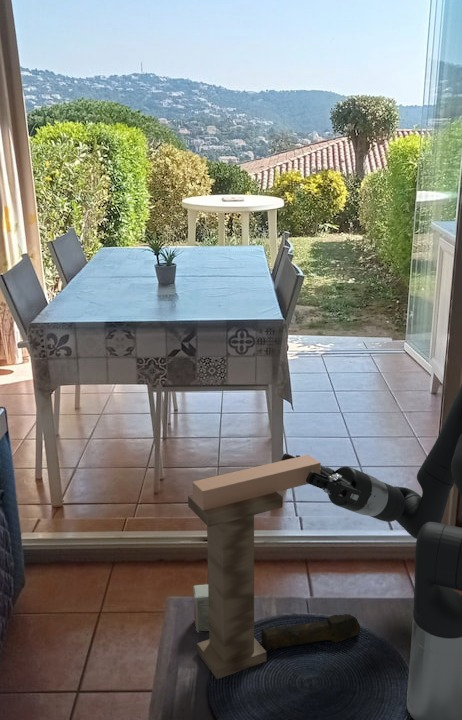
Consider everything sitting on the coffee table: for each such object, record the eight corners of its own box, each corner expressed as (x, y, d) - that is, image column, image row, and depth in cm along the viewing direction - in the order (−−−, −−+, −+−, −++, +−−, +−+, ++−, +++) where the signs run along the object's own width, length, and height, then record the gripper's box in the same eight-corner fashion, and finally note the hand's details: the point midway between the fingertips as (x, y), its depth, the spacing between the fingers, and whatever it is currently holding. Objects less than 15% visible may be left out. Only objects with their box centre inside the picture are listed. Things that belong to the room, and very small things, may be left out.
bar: (307, 472, 133) (308, 454, 132) (320, 480, 130) (320, 462, 129) (192, 500, 123) (192, 481, 122) (203, 510, 120) (202, 491, 119)
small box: (219, 617, 144) (219, 582, 142) (221, 631, 140) (221, 595, 138) (194, 619, 144) (193, 584, 141) (195, 633, 140) (194, 597, 137)
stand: (258, 631, 140) (259, 478, 131) (280, 655, 133) (282, 496, 124) (192, 654, 134) (187, 495, 125) (211, 681, 127) (208, 515, 118)
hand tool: (264, 656, 134) (264, 634, 132) (259, 642, 137) (260, 621, 136) (363, 645, 136) (365, 623, 135) (356, 631, 140) (358, 610, 139)
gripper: (344, 460, 144) (283, 435, 135) (391, 489, 131) (328, 463, 123) (327, 494, 144) (266, 471, 135) (373, 526, 132) (308, 503, 123)
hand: (295, 467), depth 129 cm, fingers open, 8 cm apart
